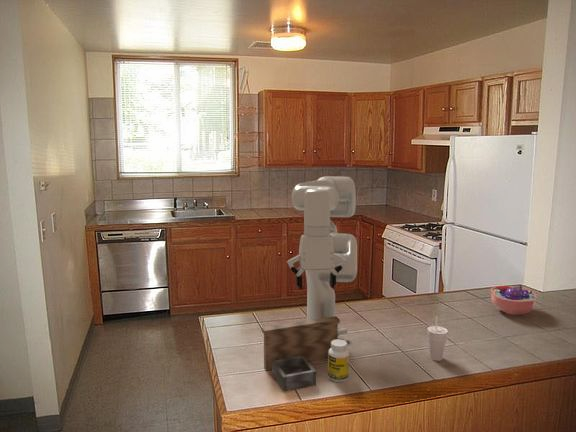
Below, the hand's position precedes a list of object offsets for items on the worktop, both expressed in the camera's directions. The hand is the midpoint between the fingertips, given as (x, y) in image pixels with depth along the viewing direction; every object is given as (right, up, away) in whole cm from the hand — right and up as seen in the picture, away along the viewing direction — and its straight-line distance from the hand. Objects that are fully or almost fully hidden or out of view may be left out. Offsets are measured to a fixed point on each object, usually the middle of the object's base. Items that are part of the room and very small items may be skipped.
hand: (316, 287), depth 139 cm
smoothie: (+39, -25, +12) cm, 48 cm away
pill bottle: (+7, -27, 0) cm, 28 cm away
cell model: (+83, -18, +50) cm, 98 cm away
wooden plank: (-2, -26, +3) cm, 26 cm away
